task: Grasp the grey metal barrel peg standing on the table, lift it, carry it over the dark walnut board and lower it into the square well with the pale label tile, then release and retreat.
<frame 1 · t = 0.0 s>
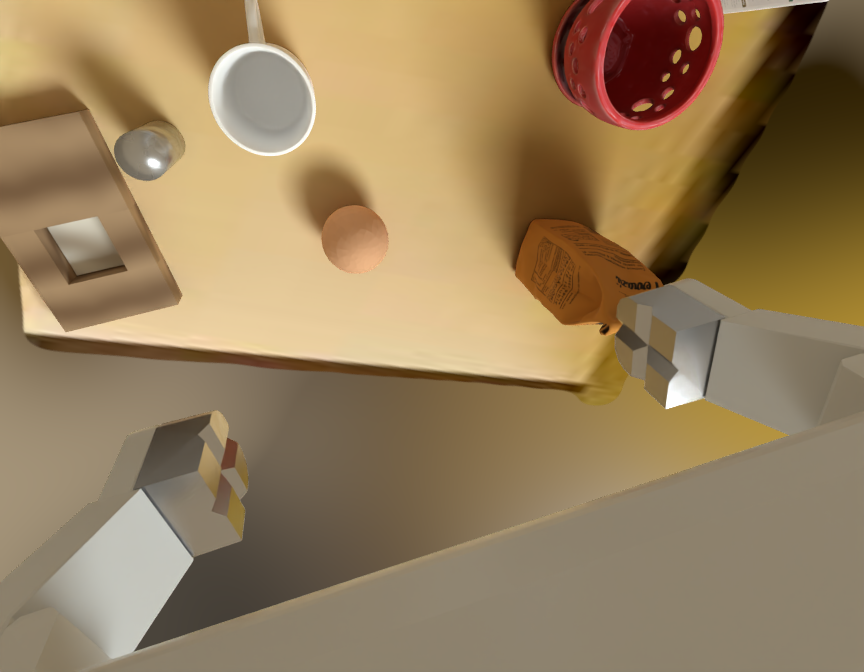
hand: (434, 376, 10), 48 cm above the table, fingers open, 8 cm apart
egg: (351, 228, 56), on the table
coffee package: (555, 253, 65), on the table
peg: (163, 142, 47), on the table
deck: (81, 225, 49), on the table
plant pot: (592, 53, 53), on the table
mug: (269, 74, 47), on the table
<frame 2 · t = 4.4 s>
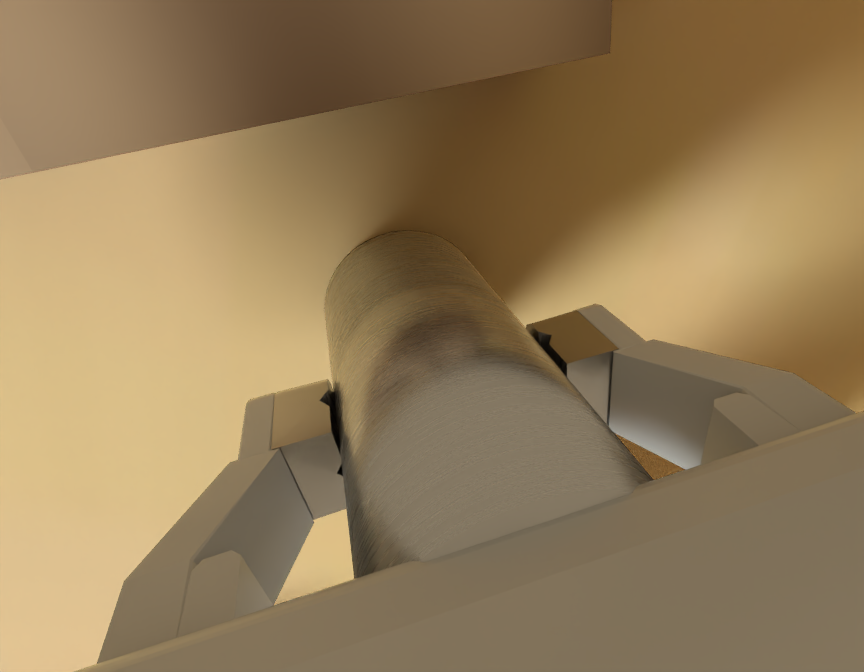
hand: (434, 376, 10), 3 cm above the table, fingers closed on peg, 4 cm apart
peg: (404, 306, 12), on the table, touching gripper
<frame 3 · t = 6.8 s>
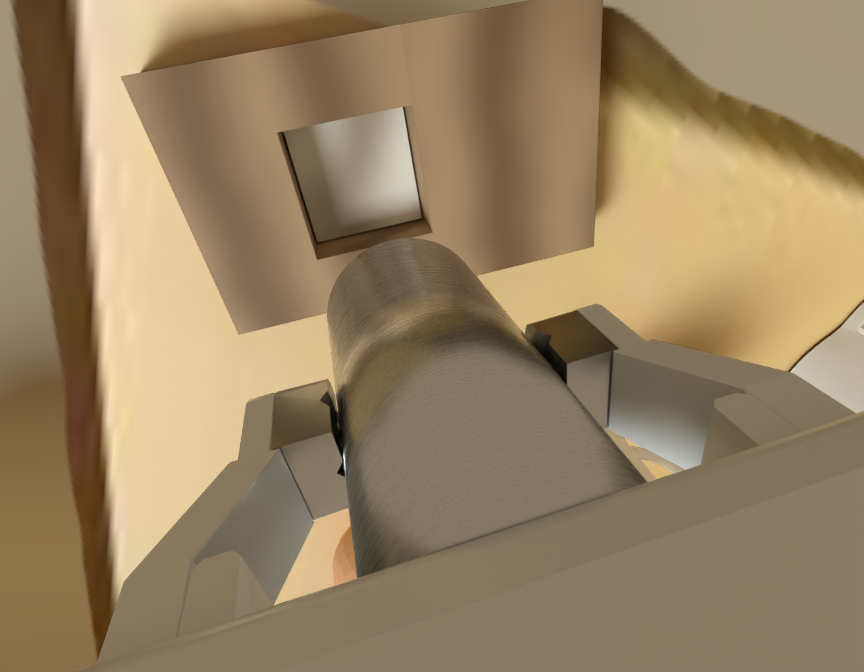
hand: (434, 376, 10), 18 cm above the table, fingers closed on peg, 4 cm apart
egg: (376, 519, 39), on the table
peg: (405, 312, 12), point 15 cm above the table, touching gripper
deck: (394, 166, 25), on the table
mug: (569, 428, 38), on the table
when the fingers open (5 cm above the table, at t = 9.4 s): peg drops 1 cm, resting on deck.
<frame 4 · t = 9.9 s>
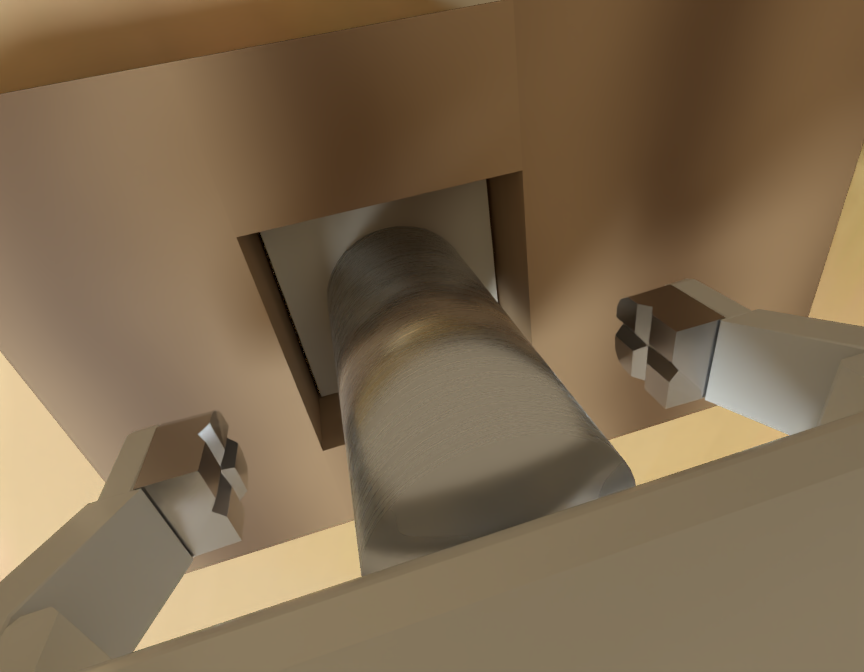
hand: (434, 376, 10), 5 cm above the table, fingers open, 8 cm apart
peg: (400, 296, 13), resting on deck
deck: (460, 266, 14), on the table
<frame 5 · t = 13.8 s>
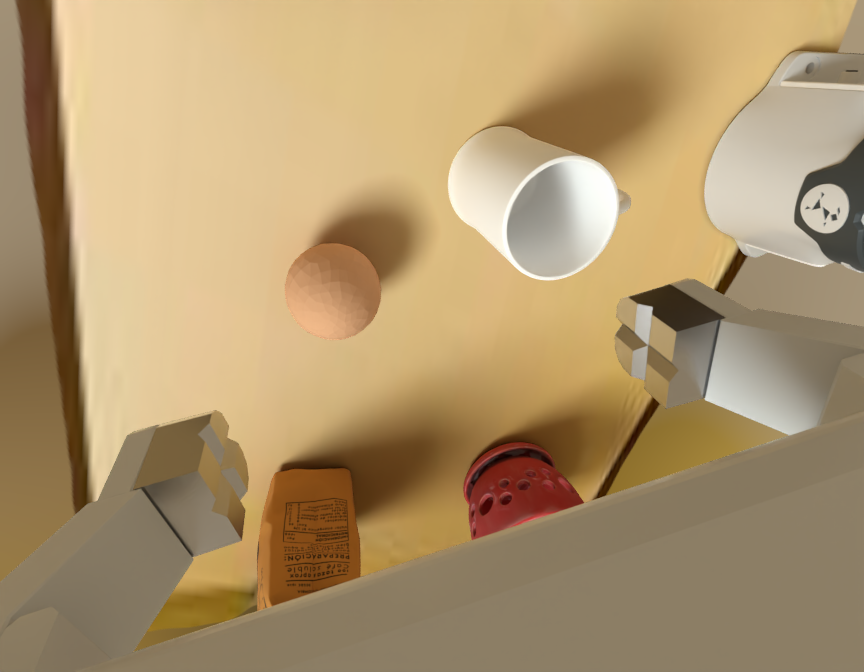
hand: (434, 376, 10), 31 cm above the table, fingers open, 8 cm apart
egg: (330, 271, 41), on the table
coffee package: (306, 500, 53), on the table
plant pot: (501, 470, 59), on the table
mug: (512, 180, 41), on the table
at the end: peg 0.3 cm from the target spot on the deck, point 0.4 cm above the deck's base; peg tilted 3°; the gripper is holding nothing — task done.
